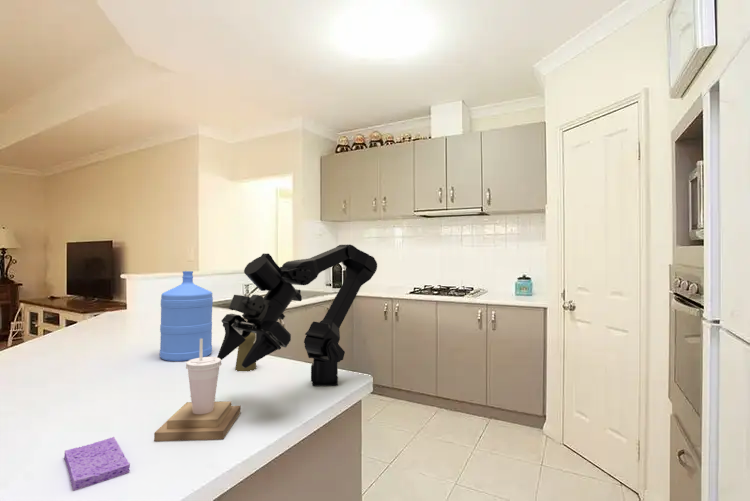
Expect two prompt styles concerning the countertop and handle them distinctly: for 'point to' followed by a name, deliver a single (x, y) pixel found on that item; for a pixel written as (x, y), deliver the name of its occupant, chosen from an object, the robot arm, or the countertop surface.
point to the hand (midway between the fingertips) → (230, 362)
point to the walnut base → (198, 431)
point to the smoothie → (203, 381)
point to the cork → (245, 353)
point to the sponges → (95, 463)
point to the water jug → (186, 321)
